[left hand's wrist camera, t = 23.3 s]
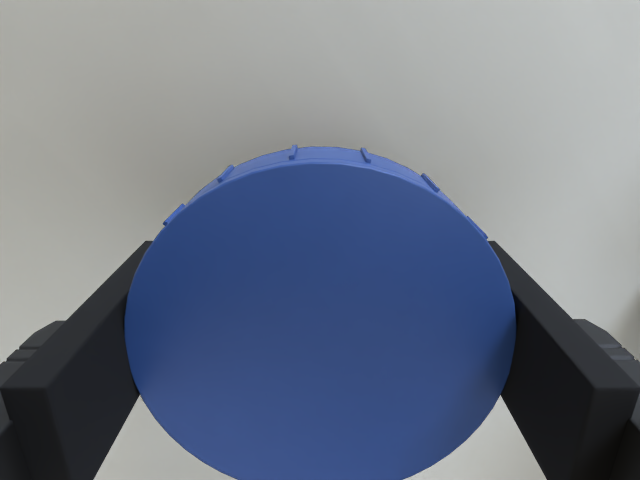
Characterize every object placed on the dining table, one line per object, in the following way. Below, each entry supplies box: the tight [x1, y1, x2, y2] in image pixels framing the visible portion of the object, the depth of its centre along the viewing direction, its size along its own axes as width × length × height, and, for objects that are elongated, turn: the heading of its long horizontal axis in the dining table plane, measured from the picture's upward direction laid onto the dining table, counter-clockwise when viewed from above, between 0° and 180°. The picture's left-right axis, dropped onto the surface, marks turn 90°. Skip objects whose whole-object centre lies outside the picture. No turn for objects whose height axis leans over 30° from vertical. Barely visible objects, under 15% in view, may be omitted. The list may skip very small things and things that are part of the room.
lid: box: [124, 145, 517, 480], centre depth 11 cm, size 9×9×2 cm
